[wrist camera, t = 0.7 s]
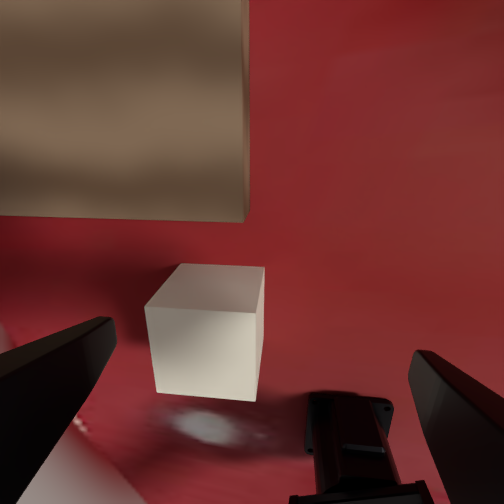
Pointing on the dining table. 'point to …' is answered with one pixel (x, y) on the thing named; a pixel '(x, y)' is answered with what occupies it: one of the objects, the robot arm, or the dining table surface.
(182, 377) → the cream cube
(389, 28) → the dining table surface
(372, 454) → the robot arm
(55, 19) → the walnut base
